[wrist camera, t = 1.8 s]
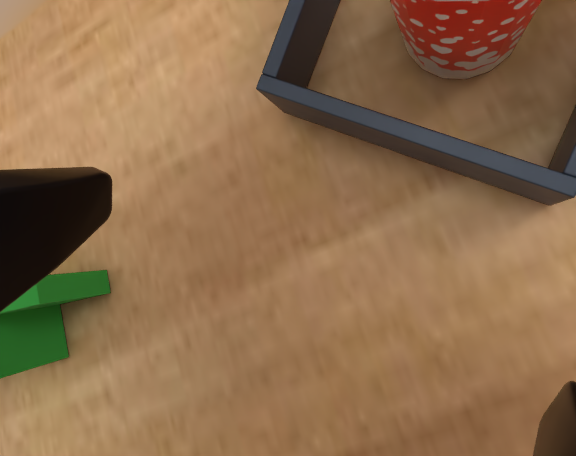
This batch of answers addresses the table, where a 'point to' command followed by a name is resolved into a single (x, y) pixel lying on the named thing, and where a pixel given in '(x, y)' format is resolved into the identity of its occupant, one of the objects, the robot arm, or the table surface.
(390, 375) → the table surface
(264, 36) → the table surface
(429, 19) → the beverage cup
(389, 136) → the box
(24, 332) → the pipe clamp
